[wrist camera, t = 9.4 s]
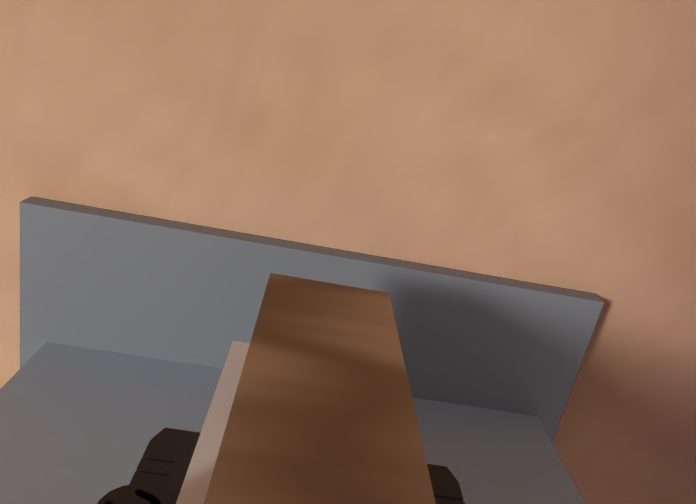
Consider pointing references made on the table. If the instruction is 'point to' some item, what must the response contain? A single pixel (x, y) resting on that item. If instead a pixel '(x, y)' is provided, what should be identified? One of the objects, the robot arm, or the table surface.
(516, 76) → the table surface
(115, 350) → the stand board
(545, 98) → the table surface
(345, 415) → the brown rectangular block
